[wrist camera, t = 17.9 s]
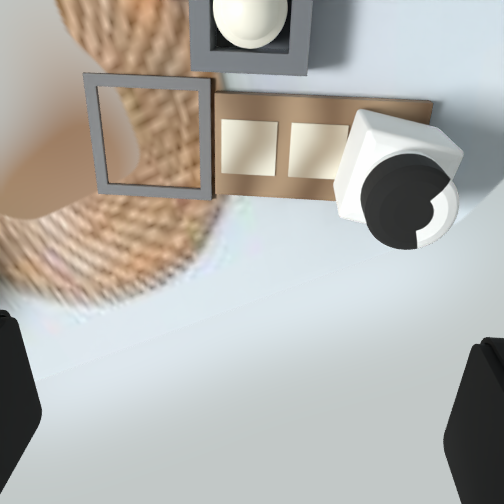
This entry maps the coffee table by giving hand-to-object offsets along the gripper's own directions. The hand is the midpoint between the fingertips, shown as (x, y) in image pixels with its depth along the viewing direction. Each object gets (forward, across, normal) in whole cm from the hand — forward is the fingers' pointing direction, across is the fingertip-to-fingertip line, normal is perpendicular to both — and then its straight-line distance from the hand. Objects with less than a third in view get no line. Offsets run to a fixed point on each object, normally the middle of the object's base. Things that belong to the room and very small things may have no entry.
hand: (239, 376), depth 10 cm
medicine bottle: (+34, -10, +6) cm, 35 cm away
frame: (+35, +11, +6) cm, 37 cm away
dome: (+35, +2, -5) cm, 35 cm away
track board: (+35, -4, +6) cm, 35 cm away
